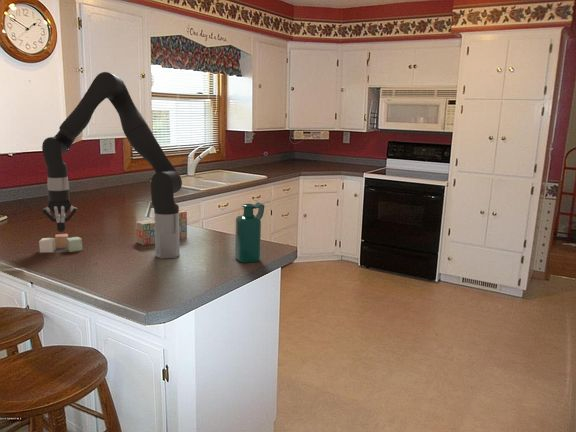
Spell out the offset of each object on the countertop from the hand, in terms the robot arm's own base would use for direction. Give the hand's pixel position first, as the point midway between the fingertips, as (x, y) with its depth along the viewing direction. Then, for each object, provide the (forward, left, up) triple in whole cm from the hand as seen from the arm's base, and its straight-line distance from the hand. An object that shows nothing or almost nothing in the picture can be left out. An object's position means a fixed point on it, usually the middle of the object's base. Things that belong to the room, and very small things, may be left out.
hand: (61, 231), depth 189 cm
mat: (-3, 0, -7) cm, 8 cm away
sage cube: (-6, -5, -6) cm, 10 cm away
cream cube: (-5, +5, -6) cm, 9 cm away
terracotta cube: (0, 0, -6) cm, 6 cm away
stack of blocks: (+5, -39, -7) cm, 40 cm away
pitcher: (-30, -69, -7) cm, 76 cm away
